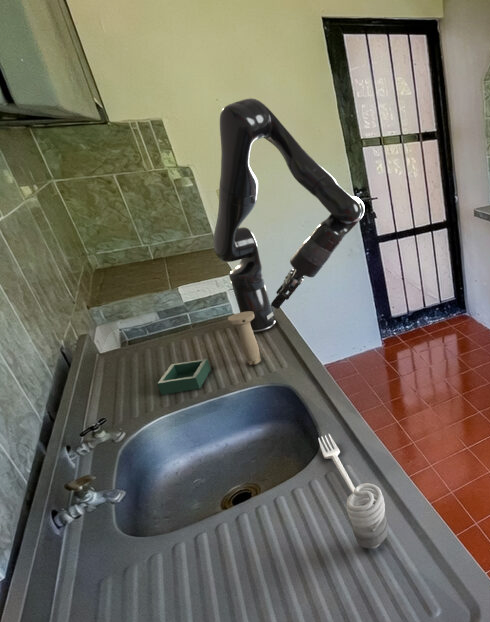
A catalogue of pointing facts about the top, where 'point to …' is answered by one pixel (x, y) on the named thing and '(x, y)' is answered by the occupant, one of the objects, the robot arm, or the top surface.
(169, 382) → the socket
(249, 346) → the handle
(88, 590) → the top surface
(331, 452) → the fork
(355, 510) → the light bulb
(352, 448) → the top surface
